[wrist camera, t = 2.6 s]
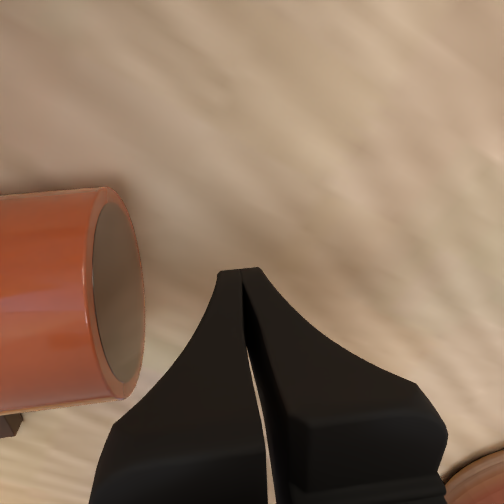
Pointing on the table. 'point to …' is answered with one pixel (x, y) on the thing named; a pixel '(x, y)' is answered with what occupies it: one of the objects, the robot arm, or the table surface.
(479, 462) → the donut
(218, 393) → the robot arm
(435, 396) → the table surface
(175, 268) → the table surface
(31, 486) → the table surface
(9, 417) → the board
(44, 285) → the cup
